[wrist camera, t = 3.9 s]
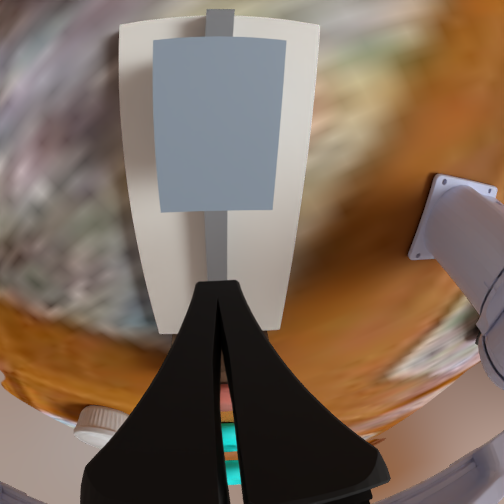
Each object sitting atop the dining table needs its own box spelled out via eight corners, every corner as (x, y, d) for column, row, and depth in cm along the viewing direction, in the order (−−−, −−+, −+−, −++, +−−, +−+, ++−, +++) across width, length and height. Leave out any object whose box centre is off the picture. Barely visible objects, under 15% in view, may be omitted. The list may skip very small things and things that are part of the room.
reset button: (242, 343, 24) (249, 391, 20) (241, 366, 27) (247, 409, 23) (197, 345, 24) (197, 393, 20) (201, 368, 26) (202, 412, 22)
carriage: (260, 51, 11) (286, 40, 7) (253, 163, 15) (272, 210, 10) (176, 51, 11) (153, 40, 6) (177, 164, 14) (160, 212, 10)
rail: (311, 28, 12) (330, 21, 9) (276, 316, 25) (283, 343, 22) (127, 28, 11) (109, 20, 8) (161, 320, 23) (157, 348, 21)
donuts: (276, 477, 34) (234, 486, 38) (267, 426, 42) (228, 440, 46) (228, 476, 29) (187, 483, 33) (222, 416, 37) (185, 431, 41)
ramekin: (136, 407, 34) (134, 439, 30) (147, 430, 40) (146, 456, 36) (68, 395, 32) (62, 425, 28) (89, 421, 38) (85, 446, 34)
